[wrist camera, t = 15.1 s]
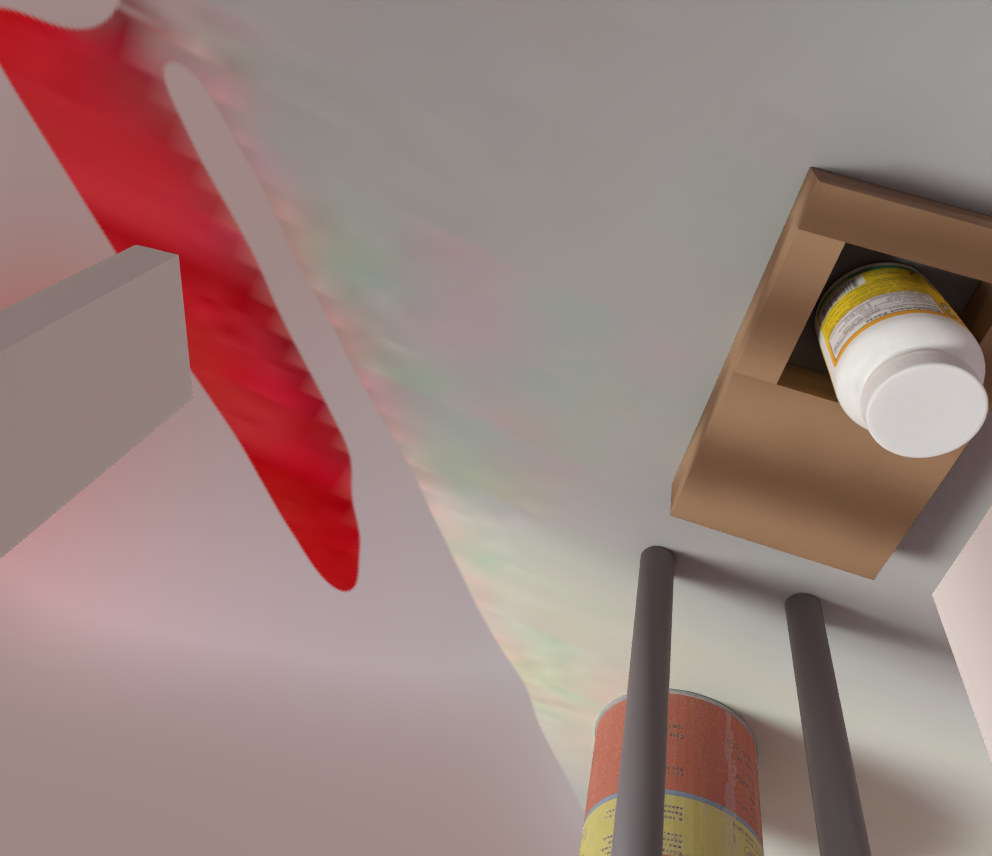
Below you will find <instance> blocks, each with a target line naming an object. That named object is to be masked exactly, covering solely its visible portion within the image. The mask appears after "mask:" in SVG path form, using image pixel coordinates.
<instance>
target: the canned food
mask: <svg viewBox="0 0 992 856" xmlns="http://www.w3.org/2000/svg"><path fill="white" fill-rule="evenodd" d="M626 700H627V695H625V696H622V697H620V698H618V699H617V700H615V701H613V702H612V703H611V704H609V705H608V706H607V707H606V708H605V709H604V710H603V712H602V713H601V714H600V716H599V718H598V720H597V723H596V728H595V745H594V752H593V760H592V767H591V774H590V782H589V789H588V796H587V804H586V811H585V818H584V825H583V833H582V841H581V847H580V855H579V856H611V851H612V841H613V831H614V821H615V811H616V801H617V791H618V781H619V771H620V761H621V751H622V741H623V731H624V720H625V710H626ZM662 856H764V852H763V838H762V825H761V812H760V799H759V786H758V773H757V745H756V740H755V738H754V735H753V733H752V732H751V730H750V728H749V727H748V726H747V724H746V723H745V722H744V721H743V720H742V719H741V718H740V717H739V716H738V715H737V714H736V713H734V712H733V711H732V710H730V709H729V708H727V707H726V706H724V705H722V704H721V703H719V702H717V701H715V700H712V699H710V698H708V697H705V696H702V695H699V694H696V693H692V692H688V691H682V690H675V689H669V703H668V728H667V753H666V778H665V803H664V828H663V852H662Z"/></svg>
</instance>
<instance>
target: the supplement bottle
mask: <svg viewBox="0 0 992 856" xmlns="http://www.w3.org/2000/svg"><path fill="white" fill-rule="evenodd" d="M815 331H816V335H817V339H818V342H819V345H820V347H821V351H822V354H823V357H824V359H825V362H826V365H827V368H828V371H829V374H830V377H831V381H832V384H833V387H834V390H835V393H836V396H837V399H838V401H839V403H840V405H841V407H842V408H843V410H844V411H845V413H846V414H847V415H848V416H849V417H850V418H851V419H852V420H853V421H854V422H856V423H857V424H858V425H860V426H861V427H863V428H865V429H867V430H869V432H870V434H871V435H872V437H873V438H874V440H875V441H876V442H877V443H878V444H879V445H881V446H882V447H883V448H885V449H886V450H888V451H890V452H892V453H895V454H897V455H901V456H905V457H911V458H926V457H934V456H939V455H942V454H945V453H948V452H951V451H953V450H956V449H957V448H959V447H961V446H962V445H964V444H965V443H967V442H968V441H969V440H970V439H972V438H973V437H974V436H975V435H976V434H977V432H978V431H979V430H980V428H981V427H982V425H983V423H984V421H985V419H986V416H987V412H988V396H987V393H986V390H985V388H984V386H983V382H984V377H985V361H984V356H983V353H982V350H981V348H980V346H979V344H978V342H977V341H976V339H975V338H974V336H973V335H972V333H971V332H970V331H969V330H968V328H967V327H966V326H965V324H964V323H963V322H962V320H961V319H960V318H959V316H958V315H957V314H956V313H955V311H954V310H953V309H952V308H951V307H950V306H949V304H948V303H947V302H946V300H945V299H944V298H943V297H942V295H941V294H940V293H939V291H938V290H937V289H936V288H935V287H934V285H933V284H932V283H931V282H930V281H929V280H928V279H927V278H926V277H925V276H924V275H922V274H921V273H920V272H919V271H917V270H915V269H914V268H912V267H909V266H907V265H904V264H900V263H892V262H881V263H873V264H868V265H864V266H861V267H858V268H856V269H854V270H852V271H850V272H848V273H846V274H845V275H843V276H842V277H840V278H839V279H838V280H837V281H835V282H834V283H833V284H832V285H831V286H830V287H829V288H828V290H827V291H826V292H825V294H824V295H823V297H822V298H821V300H820V302H819V305H818V308H817V311H816V316H815Z"/></svg>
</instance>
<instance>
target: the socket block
mask: <svg viewBox="0 0 992 856" xmlns="http://www.w3.org/2000/svg"><path fill="white" fill-rule="evenodd" d="M845 243H849V244H853V245H857V246H860V247H864V248H867V249H871V250H874V251H878V252H882V253H885V254H889V255H892V256H896V257H899V258H903V259H906V260H910V261H914V262H917V263H921V264H924V265H928V266H931V267H935V268H939V269H942V270H946V271H949V272H953V273H956V274H960V275H964V276H967V277H971V278H974V279H978V280H981V283H980V285H979V286H978V288H977V289H976V291H975V293H974V294H973V296H972V298H971V299H970V301H969V303H968V304H967V306H966V307H965V309H964V311H963V312H962V314H961V316H960V317H959V318H960V319H961V320H962V322H963V323H964V324H965V326H966V327H967V328H968V330H969V331H970V332H971V333H972V335H973V336H974V338H975V339H976V341H977V342H978V344H979V346H980V348H981V350H982V353H983V356H984V361H985V377H984V382H983V386H984V388H985V390H986V393H987V396H988V412H987V415H988V413H989V412H990V411H991V409H992V217H991V216H987V215H984V214H980V213H976V212H973V211H969V210H966V209H962V208H958V207H955V206H951V205H947V204H944V203H940V202H936V201H933V200H929V199H925V198H922V197H918V196H914V195H911V194H907V193H903V192H900V191H896V190H892V189H889V188H885V187H881V186H878V185H874V184H870V183H867V182H863V181H859V180H856V179H852V178H848V177H845V176H841V175H837V174H834V173H830V172H826V171H823V170H819V169H815V168H812V167H810V169H809V171H808V173H807V176H806V178H805V180H804V182H803V185H802V187H801V189H800V192H799V194H798V196H797V199H796V201H795V203H794V205H793V208H792V210H791V212H790V215H789V217H788V219H787V221H786V224H785V226H784V228H783V231H782V233H781V235H780V238H779V240H778V242H777V244H776V247H775V249H774V251H773V254H772V256H771V258H770V260H769V263H768V265H767V267H766V270H765V272H764V274H763V277H762V279H761V281H760V283H759V286H758V288H757V290H756V293H755V295H754V297H753V299H752V302H751V304H750V306H749V309H748V311H747V313H746V316H745V318H744V320H743V322H742V325H741V327H740V329H739V332H738V334H737V336H736V338H735V341H734V343H733V345H732V348H731V350H730V352H729V355H728V357H727V359H726V361H725V364H724V366H723V368H722V371H721V373H720V375H719V377H718V380H717V382H716V384H715V387H714V389H713V391H712V394H711V396H710V398H709V400H708V403H707V405H706V407H705V410H704V412H703V414H702V416H701V419H700V421H699V423H698V426H697V428H696V430H695V433H694V435H693V437H692V439H691V442H690V444H689V446H688V449H687V451H686V453H685V455H684V458H683V460H682V462H681V465H680V467H679V469H678V472H677V474H676V476H675V478H674V481H673V483H672V493H671V513H670V516H673V517H677V518H680V519H683V520H686V521H689V522H692V523H695V524H699V525H702V526H705V527H708V528H711V529H714V530H718V531H721V532H724V533H727V534H730V535H733V536H736V537H740V538H743V539H746V540H749V541H752V542H755V543H758V544H762V545H765V546H768V547H771V548H774V549H777V550H780V551H784V552H787V553H790V554H793V555H796V556H799V557H802V558H806V559H809V560H812V561H815V562H818V563H821V564H825V565H828V566H831V567H834V568H837V569H840V570H843V571H847V572H850V573H853V574H856V575H859V576H862V577H865V578H869V579H872V580H874V579H875V578H876V576H877V575H878V573H879V572H880V570H881V569H882V567H883V566H884V565H885V563H886V562H887V560H888V559H889V557H890V556H891V554H892V553H893V551H894V550H895V549H896V547H897V546H898V544H899V543H900V541H901V540H902V538H903V537H904V536H905V534H906V533H907V531H908V530H909V528H910V527H911V525H912V524H913V522H914V521H915V520H916V518H917V517H918V515H919V514H920V512H921V511H922V509H923V508H924V506H925V505H926V504H927V502H928V501H929V499H930V498H931V496H932V495H933V493H934V492H935V490H936V489H937V488H938V486H939V485H940V483H941V482H942V480H943V479H944V477H945V476H946V474H947V473H948V472H949V470H950V469H951V467H952V466H953V464H954V463H955V461H956V460H957V459H958V457H959V456H960V454H961V453H962V451H963V450H964V448H965V447H966V445H967V444H968V443H969V441H970V440H971V439H970V440H969V441H968V442H967V443H965V444H964V445H962V446H961V447H959V448H957V449H956V450H953V451H951V452H948V453H945V454H942V455H939V456H934V457H926V458H911V457H905V456H901V455H897V454H895V453H892V452H890V451H888V450H886V449H885V448H883V447H882V446H881V445H879V444H878V443H877V442H876V441H875V440H874V438H873V437H872V435H871V434H870V432H869V430H867V429H865V428H863V427H861V426H860V425H858V424H857V423H856V422H854V421H853V420H852V419H851V418H850V417H849V416H848V415H847V414H846V413H845V411H844V410H843V408H842V407H841V405H840V403H839V401H838V399H837V396H836V393H835V390H834V387H833V384H832V381H831V377H830V375H827V374H824V373H821V372H817V371H814V370H810V369H807V368H804V367H800V366H797V365H794V364H790V363H787V361H788V359H789V357H790V355H791V353H792V351H793V349H794V347H795V345H796V343H797V341H798V339H799V337H800V335H801V333H802V331H803V329H804V327H805V325H806V323H807V320H808V318H809V316H810V314H811V312H812V310H813V308H814V306H815V304H816V302H817V300H818V298H819V296H820V294H821V292H822V290H823V288H824V286H825V284H826V282H827V280H828V277H829V275H830V273H831V271H832V269H833V267H834V265H835V263H836V261H837V259H838V257H839V255H840V253H841V251H842V249H843V247H844V245H845Z"/></svg>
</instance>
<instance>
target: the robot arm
mask: <svg viewBox="0 0 992 856" xmlns="http://www.w3.org/2000/svg"><path fill="white" fill-rule="evenodd" d="M192 398H193V394H192V383H191V374H190V364H189V354H188V344H187V334H186V325H185V315H184V305H183V295H182V285H181V276H180V266H179V256H178V255H176V254H172V253H168V252H164V251H160V250H156V249H152V248H147V247H143V246H139V245H134V246H132V247H130V248H128V249H126V250H124V251H122V252H120V253H118V254H116V255H114V256H112V257H110V258H108V259H106V260H104V261H101V262H99V263H97V264H95V265H93V266H91V267H89V268H87V269H85V270H83V271H81V272H79V273H77V274H75V275H73V276H70V277H68V278H66V279H64V280H62V281H60V282H58V283H56V284H54V285H52V286H50V287H48V288H46V289H44V290H42V291H39V292H38V293H35V294H33V295H31V296H29V297H27V298H25V299H23V300H21V301H19V302H17V303H15V304H13V305H11V306H9V307H7V308H4V309H2V310H0V558H1V557H3V556H4V555H5V554H6V553H8V552H9V551H10V550H11V549H12V548H14V547H15V546H16V545H17V544H18V543H20V542H21V541H22V540H23V539H24V538H25V537H27V536H28V535H29V534H30V533H32V532H33V530H35V529H36V528H37V527H39V526H40V525H41V524H42V523H43V522H45V521H46V520H47V519H48V518H49V517H51V516H52V515H53V514H54V513H55V512H57V511H58V510H59V509H60V508H61V507H62V506H64V505H65V504H66V503H67V502H69V501H70V500H71V499H72V498H73V497H75V496H76V495H77V494H78V493H79V492H81V491H82V490H83V489H84V488H85V487H87V486H88V485H89V484H90V483H91V482H93V480H95V479H96V478H97V477H99V476H100V475H101V474H102V473H103V472H105V471H106V470H107V469H108V468H109V467H111V466H112V465H113V464H114V463H115V462H116V461H118V460H119V459H120V458H121V457H123V456H124V455H125V454H126V453H127V452H129V451H130V450H131V449H132V448H133V447H135V445H137V444H138V443H139V442H141V441H142V440H143V439H144V438H145V437H147V436H148V435H149V434H150V433H151V432H153V431H154V430H155V429H156V428H157V427H159V426H160V425H161V424H162V423H163V422H164V421H166V420H167V419H168V418H169V417H170V416H171V415H173V414H174V413H175V412H177V411H178V410H179V409H180V408H181V407H182V406H184V405H185V404H186V403H187V402H189V401H190V400H191V399H192ZM932 596H933V599H934V601H935V604H936V607H937V610H938V613H939V615H940V618H941V621H942V624H943V627H944V630H945V632H946V635H947V638H948V641H949V644H950V646H951V649H952V652H953V655H954V658H955V660H956V663H957V666H958V669H959V672H960V674H961V677H962V680H963V683H964V686H965V689H966V691H967V694H968V697H969V700H970V703H971V705H972V708H973V711H974V714H975V717H976V719H977V722H978V725H979V728H980V731H981V734H982V736H983V739H984V742H985V745H986V748H987V750H988V753H989V756H990V759H991V762H992V506H991V508H990V509H989V511H988V512H987V514H986V515H985V517H984V518H983V520H982V521H981V523H980V524H979V526H978V527H977V529H976V530H975V532H974V533H973V535H972V536H971V538H970V539H969V541H968V542H967V544H966V545H965V547H964V548H963V549H962V551H961V552H960V554H959V555H958V557H957V558H956V560H955V561H954V563H953V564H952V566H951V567H950V569H949V570H948V572H947V573H946V575H945V576H944V578H943V579H942V581H941V582H940V584H939V585H938V587H937V588H936V590H935V591H934V593H933V594H932Z"/></svg>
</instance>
